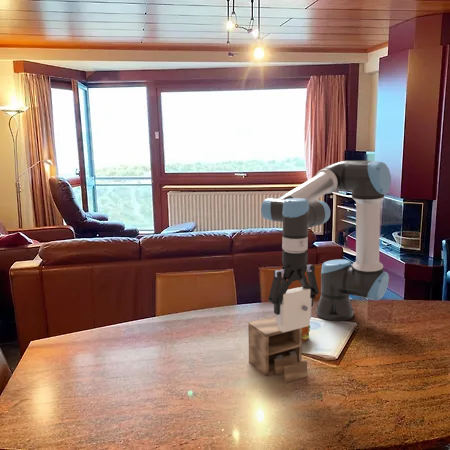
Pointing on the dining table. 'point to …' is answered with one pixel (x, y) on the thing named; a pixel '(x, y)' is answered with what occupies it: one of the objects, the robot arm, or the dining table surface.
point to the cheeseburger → (305, 333)
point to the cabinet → (276, 349)
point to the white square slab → (295, 309)
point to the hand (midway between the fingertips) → (293, 320)
